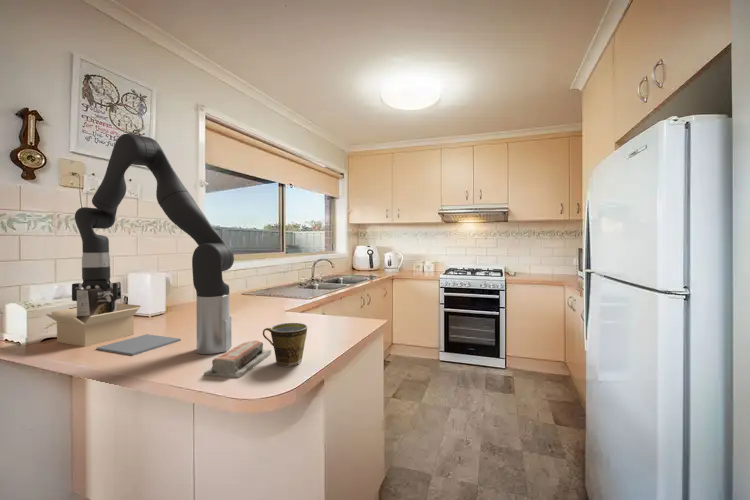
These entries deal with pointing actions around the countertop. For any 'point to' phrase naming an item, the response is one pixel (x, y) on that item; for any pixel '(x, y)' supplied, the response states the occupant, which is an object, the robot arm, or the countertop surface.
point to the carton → (94, 325)
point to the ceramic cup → (288, 342)
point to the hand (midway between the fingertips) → (97, 312)
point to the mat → (138, 344)
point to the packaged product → (238, 360)
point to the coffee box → (91, 303)
